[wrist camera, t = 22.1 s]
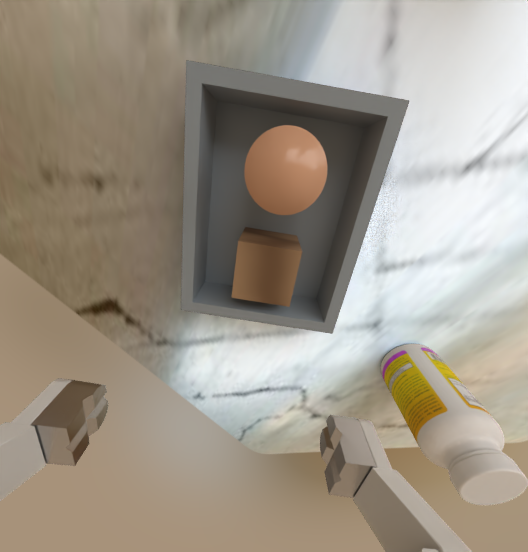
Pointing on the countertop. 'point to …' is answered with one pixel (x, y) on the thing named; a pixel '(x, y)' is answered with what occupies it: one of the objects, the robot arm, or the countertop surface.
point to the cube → (266, 266)
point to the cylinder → (285, 170)
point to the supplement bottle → (451, 426)
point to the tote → (247, 213)
